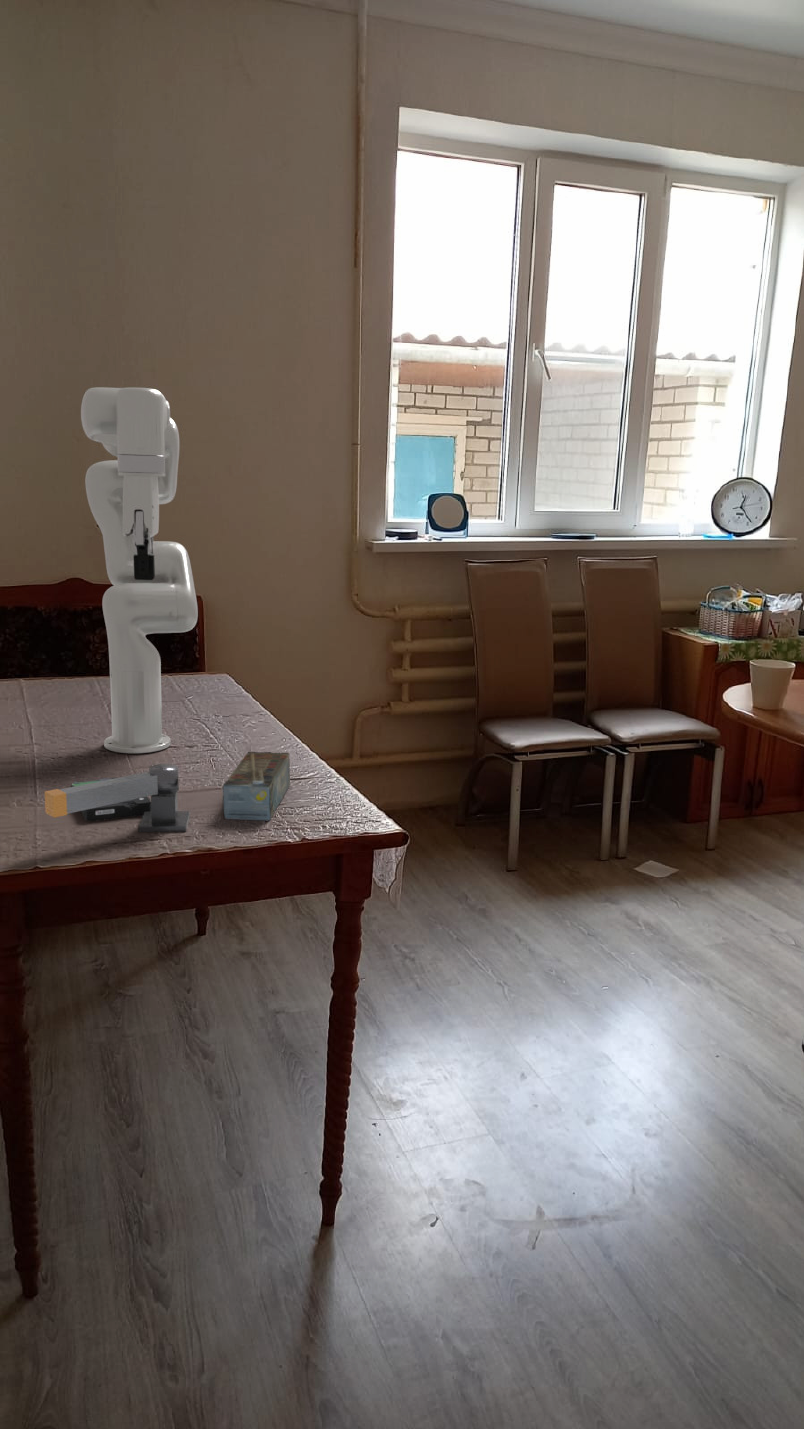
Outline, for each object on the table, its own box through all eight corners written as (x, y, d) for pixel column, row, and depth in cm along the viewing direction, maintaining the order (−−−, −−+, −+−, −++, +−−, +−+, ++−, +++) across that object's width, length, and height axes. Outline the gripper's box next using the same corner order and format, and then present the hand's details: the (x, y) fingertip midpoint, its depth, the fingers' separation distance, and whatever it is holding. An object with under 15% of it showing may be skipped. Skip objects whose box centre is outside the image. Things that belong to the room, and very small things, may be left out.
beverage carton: (220, 820, 166) (220, 780, 164) (246, 784, 184) (246, 748, 183) (270, 822, 165) (270, 782, 164) (291, 786, 184) (291, 750, 182)
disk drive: (153, 818, 167) (131, 789, 180) (152, 801, 166) (131, 774, 179) (86, 826, 162) (69, 796, 175) (85, 809, 162) (68, 780, 174)
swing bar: (169, 784, 164) (168, 762, 163) (184, 791, 161) (183, 768, 160) (42, 811, 150) (41, 787, 150) (56, 819, 147) (55, 794, 146)
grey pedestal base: (144, 816, 166) (143, 786, 164) (189, 815, 166) (189, 785, 165) (138, 831, 159) (138, 800, 158) (186, 831, 160) (185, 800, 158)
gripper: (124, 465, 178) (128, 574, 183) (110, 466, 164) (114, 584, 168) (169, 467, 179) (172, 574, 183) (159, 468, 165) (162, 585, 169)
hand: (144, 579), depth 176 cm, fingers closed
